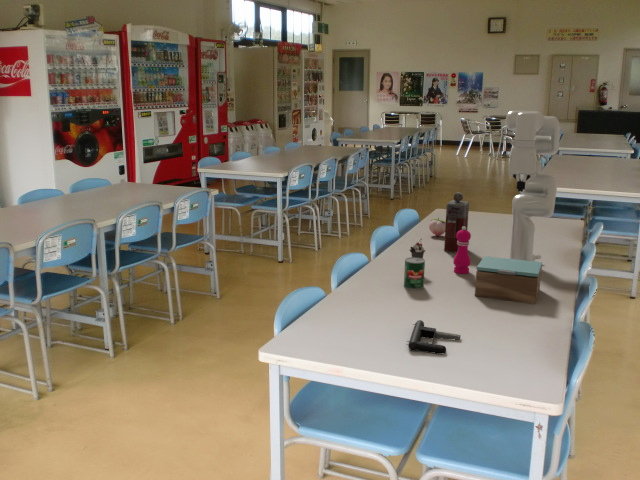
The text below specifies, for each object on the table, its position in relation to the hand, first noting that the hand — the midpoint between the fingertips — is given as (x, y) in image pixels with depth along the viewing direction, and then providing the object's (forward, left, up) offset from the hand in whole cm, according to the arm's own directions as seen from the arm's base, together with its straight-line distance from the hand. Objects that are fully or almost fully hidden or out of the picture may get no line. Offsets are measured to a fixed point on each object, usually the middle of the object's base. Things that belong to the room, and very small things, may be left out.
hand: (520, 191), depth 254 cm
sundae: (+32, -23, -37) cm, 54 cm away
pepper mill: (+13, -18, -37) cm, 43 cm away
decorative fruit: (-12, -77, -37) cm, 86 cm away
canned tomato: (+42, -8, -37) cm, 57 cm away
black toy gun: (+64, +42, -38) cm, 85 cm away
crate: (+12, +12, -37) cm, 41 cm away
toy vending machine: (-4, -49, -37) cm, 62 cm away
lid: (+12, +12, -27) cm, 32 cm away
